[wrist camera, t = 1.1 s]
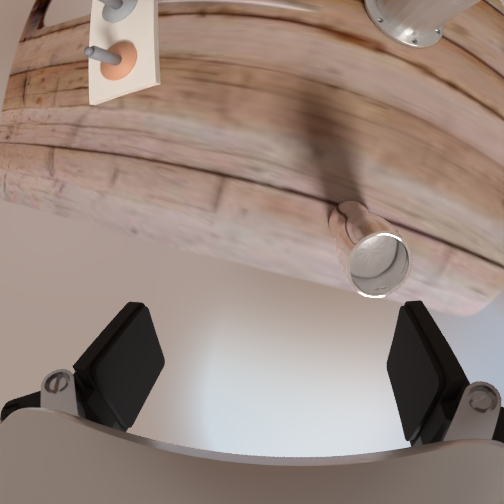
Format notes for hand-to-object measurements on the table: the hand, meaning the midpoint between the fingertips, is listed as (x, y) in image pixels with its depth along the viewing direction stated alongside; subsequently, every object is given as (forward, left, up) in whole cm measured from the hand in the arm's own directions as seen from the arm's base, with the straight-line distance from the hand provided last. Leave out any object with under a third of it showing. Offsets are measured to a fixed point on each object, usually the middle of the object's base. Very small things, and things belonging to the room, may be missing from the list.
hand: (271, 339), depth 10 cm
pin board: (+5, -36, -30) cm, 47 cm away
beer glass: (-5, +8, -30) cm, 32 cm away
